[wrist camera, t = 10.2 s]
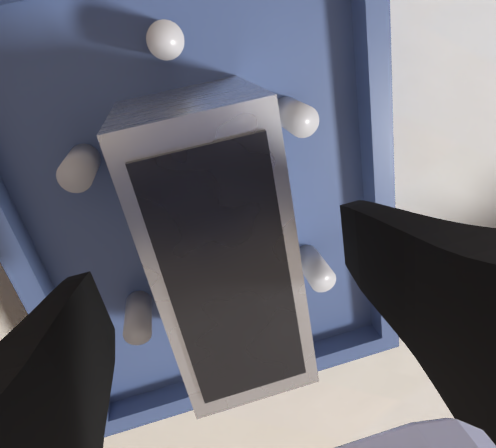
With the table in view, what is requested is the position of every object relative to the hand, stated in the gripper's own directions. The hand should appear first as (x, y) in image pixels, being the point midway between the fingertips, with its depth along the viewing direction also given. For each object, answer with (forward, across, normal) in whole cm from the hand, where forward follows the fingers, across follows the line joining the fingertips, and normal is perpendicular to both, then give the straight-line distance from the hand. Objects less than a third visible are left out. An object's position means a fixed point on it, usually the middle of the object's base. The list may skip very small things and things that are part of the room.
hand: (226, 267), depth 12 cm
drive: (+4, 0, 0) cm, 4 cm away
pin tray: (+5, 0, 0) cm, 5 cm away
